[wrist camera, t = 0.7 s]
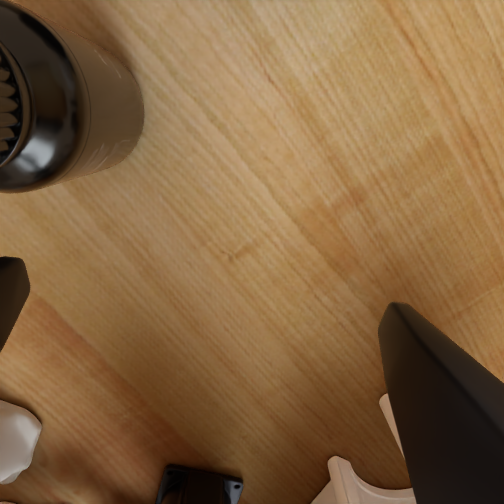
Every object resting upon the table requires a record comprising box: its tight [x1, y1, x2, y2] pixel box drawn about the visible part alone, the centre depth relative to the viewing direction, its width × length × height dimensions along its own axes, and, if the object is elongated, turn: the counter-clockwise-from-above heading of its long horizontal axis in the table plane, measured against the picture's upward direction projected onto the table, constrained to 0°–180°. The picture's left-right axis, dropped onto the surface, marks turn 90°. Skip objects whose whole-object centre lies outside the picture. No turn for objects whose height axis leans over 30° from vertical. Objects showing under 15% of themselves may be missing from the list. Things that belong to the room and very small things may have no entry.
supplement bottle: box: [0, 0, 144, 193], centre depth 16 cm, size 7×7×12 cm
